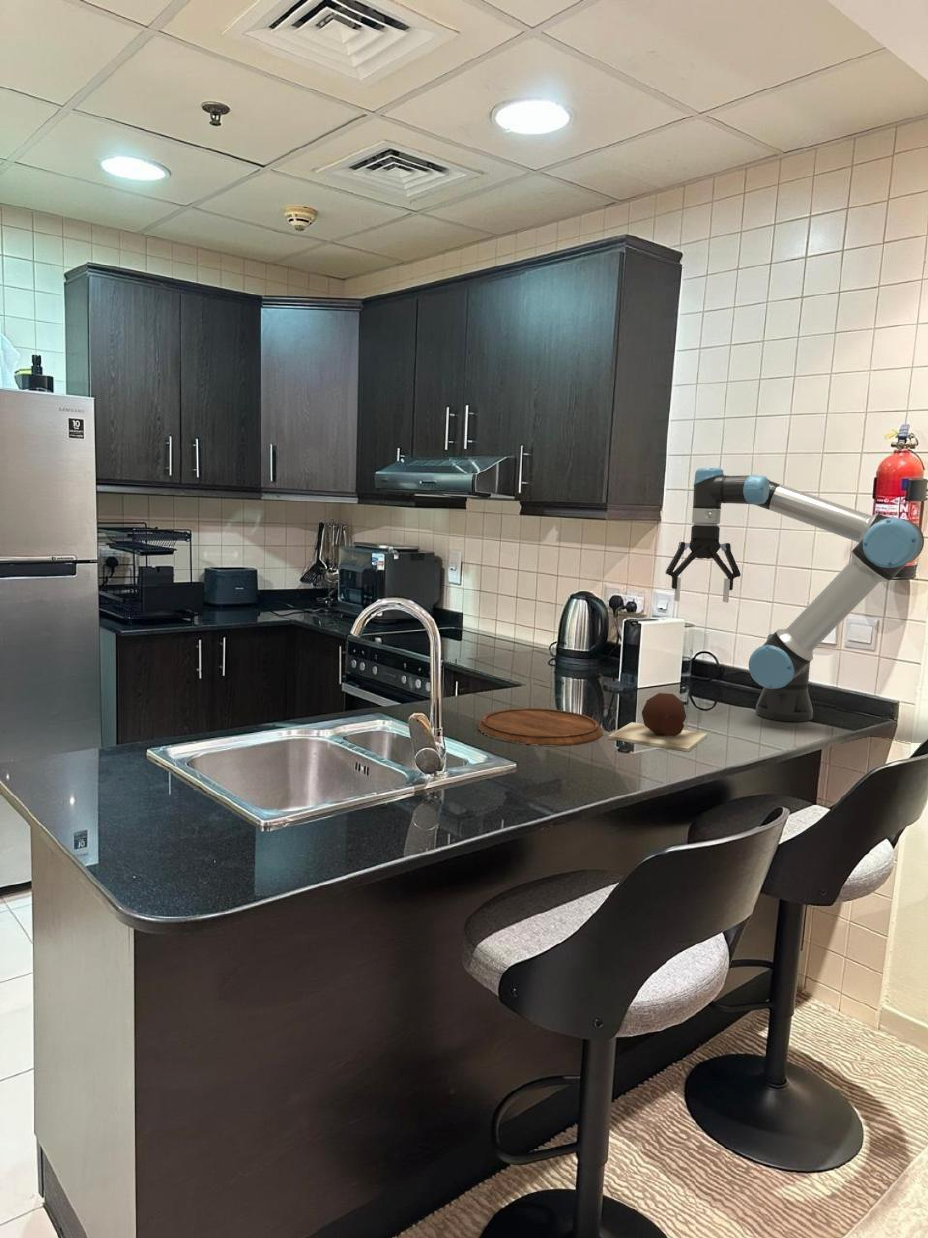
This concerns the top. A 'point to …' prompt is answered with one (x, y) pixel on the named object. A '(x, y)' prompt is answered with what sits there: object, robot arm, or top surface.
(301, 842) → the top surface
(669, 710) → the chocolate ice cream sundae
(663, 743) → the birch pad
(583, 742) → the cutting board
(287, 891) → the top surface
